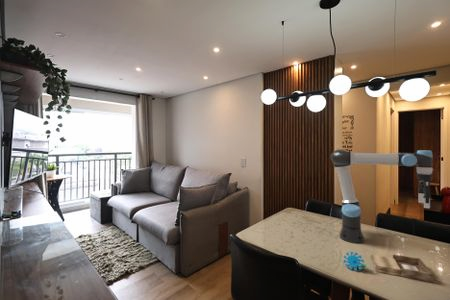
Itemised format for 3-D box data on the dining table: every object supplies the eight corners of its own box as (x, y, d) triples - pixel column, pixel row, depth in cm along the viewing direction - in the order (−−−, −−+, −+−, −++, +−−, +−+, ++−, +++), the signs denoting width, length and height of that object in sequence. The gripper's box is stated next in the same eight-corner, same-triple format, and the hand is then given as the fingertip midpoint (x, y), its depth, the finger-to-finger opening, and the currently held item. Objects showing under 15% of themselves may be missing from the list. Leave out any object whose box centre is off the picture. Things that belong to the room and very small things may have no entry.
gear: (340, 263, 119) (346, 247, 123) (342, 267, 122) (348, 251, 126) (362, 275, 111) (369, 257, 114) (364, 279, 114) (370, 261, 118)
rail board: (376, 272, 113) (376, 264, 113) (370, 257, 128) (370, 250, 128) (433, 282, 104) (433, 274, 104) (419, 265, 118) (419, 258, 118)
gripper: (438, 176, 128) (437, 211, 129) (426, 171, 150) (426, 201, 150) (421, 175, 132) (421, 209, 133) (412, 171, 154) (412, 200, 154)
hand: (423, 205), depth 142 cm, fingers open, 13 cm apart
